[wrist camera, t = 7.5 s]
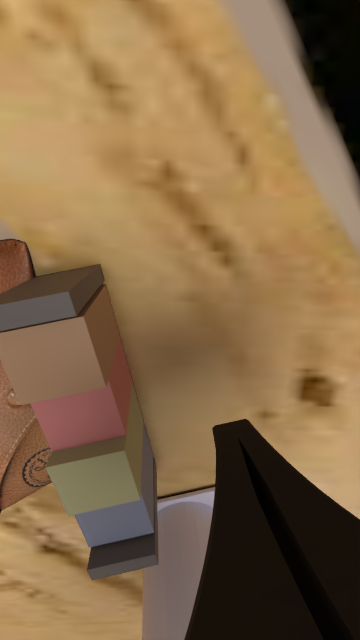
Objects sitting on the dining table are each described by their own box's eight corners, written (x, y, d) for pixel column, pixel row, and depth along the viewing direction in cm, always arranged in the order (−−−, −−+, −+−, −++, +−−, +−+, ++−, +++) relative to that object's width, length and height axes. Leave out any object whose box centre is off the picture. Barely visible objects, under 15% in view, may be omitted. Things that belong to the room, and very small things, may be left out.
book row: (156, 466, 23) (158, 564, 16) (108, 476, 23) (92, 580, 16) (100, 264, 17) (68, 291, 10) (35, 276, 17) (-38, 312, 10)
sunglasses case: (113, 458, 22) (46, 548, 17) (54, 443, 25) (-18, 513, 20) (23, 228, 16) (-132, 252, 10) (-40, 246, 19) (-184, 271, 14)
